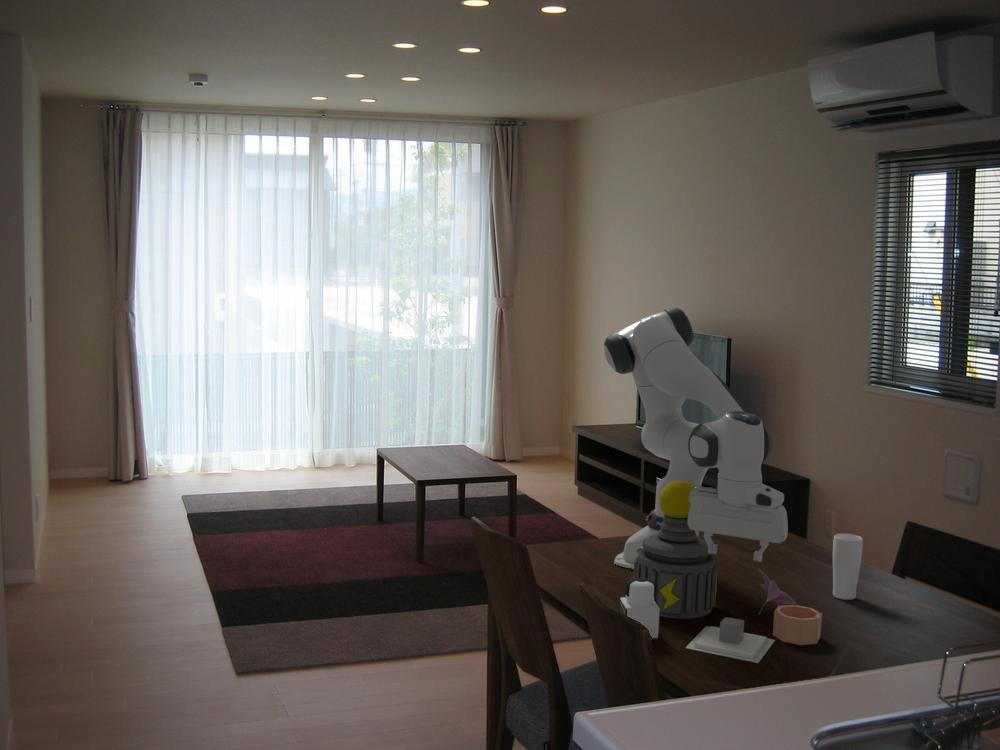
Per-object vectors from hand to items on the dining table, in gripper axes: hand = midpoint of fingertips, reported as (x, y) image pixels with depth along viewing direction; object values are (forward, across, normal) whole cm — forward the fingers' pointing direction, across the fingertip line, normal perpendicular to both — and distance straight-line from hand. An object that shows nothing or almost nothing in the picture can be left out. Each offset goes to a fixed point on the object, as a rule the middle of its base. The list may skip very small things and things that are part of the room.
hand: (734, 557), depth 216 cm
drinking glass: (+19, +15, +48) cm, 54 cm away
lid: (+19, 0, 0) cm, 19 cm away
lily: (+19, +3, +27) cm, 33 cm away
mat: (+19, 0, 0) cm, 19 cm away
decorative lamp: (+19, -18, +17) cm, 31 cm away
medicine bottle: (+20, -19, -4) cm, 27 cm away
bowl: (+19, +11, +12) cm, 25 cm away
